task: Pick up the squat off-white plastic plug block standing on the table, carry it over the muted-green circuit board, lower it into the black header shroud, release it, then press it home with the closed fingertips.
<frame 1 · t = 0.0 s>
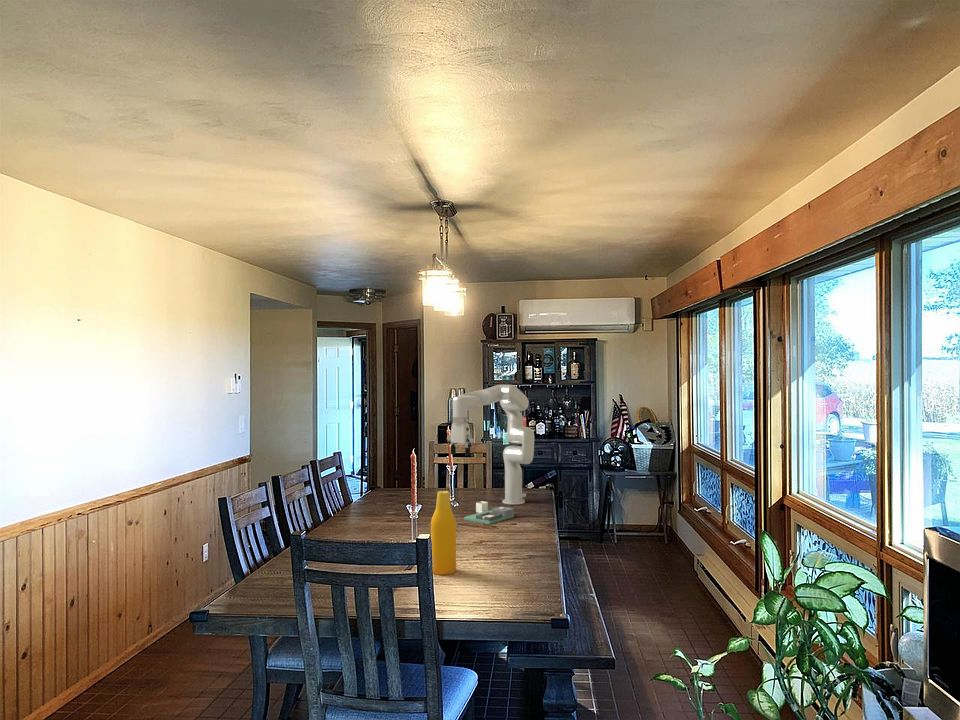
hand: (460, 454, 322), 31 cm above the table, fingers open, 9 cm apart
fan: (502, 517, 321), resting on board
header: (489, 520, 314), resting on board
plug: (482, 512, 333), on the table
board: (489, 518, 319), on the table
beer bottle: (443, 571, 234), on the table
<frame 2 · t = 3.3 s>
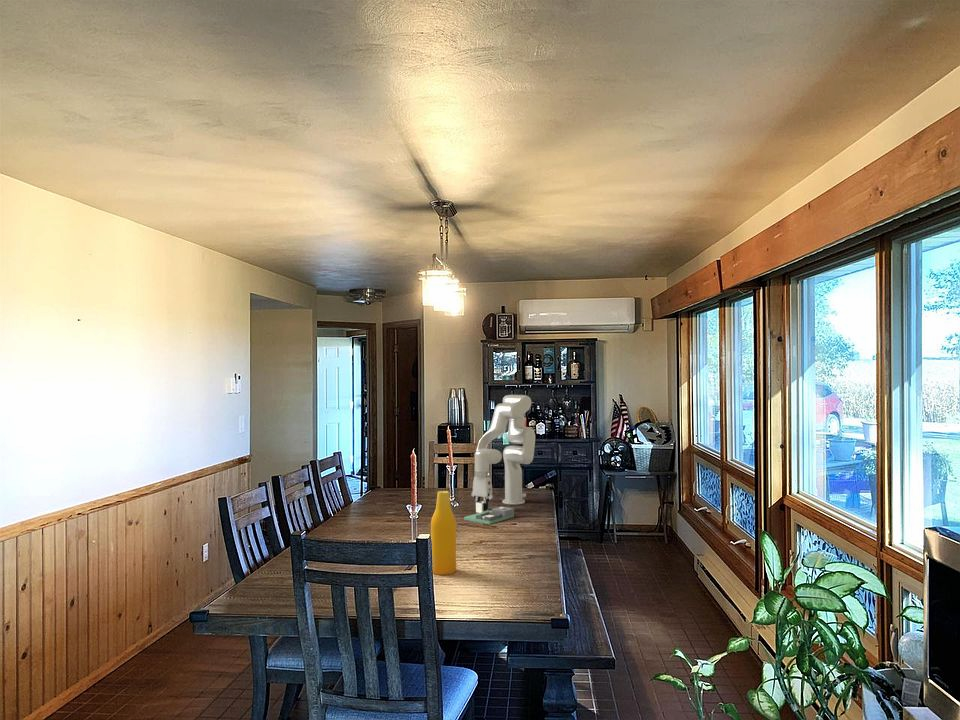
hand: (482, 509, 333), 1 cm above the table, fingers closed on plug, 3 cm apart
plug: (482, 511, 333), on the table, touching gripper
everything else where it was.
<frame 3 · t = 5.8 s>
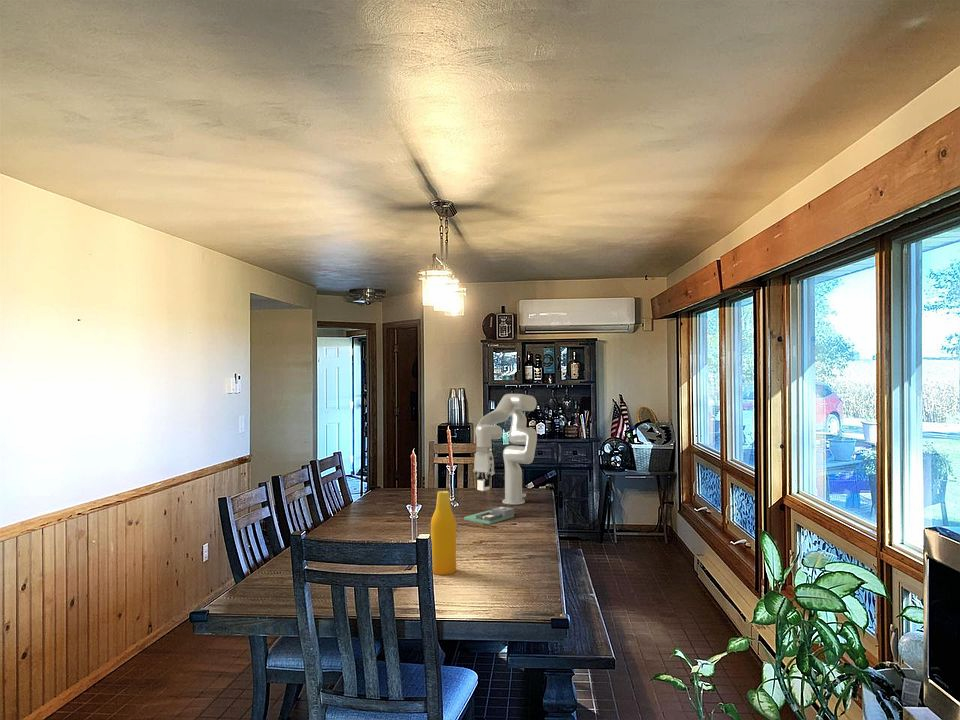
hand: (483, 485, 327), 15 cm above the table, fingers closed on plug, 4 cm apart
plug: (483, 489, 327), point 13 cm above the table, touching gripper
everything else where it was.
when the fingers open (4 cm above the table, at t = 8.5 s): plug stays where it is, resting on header.
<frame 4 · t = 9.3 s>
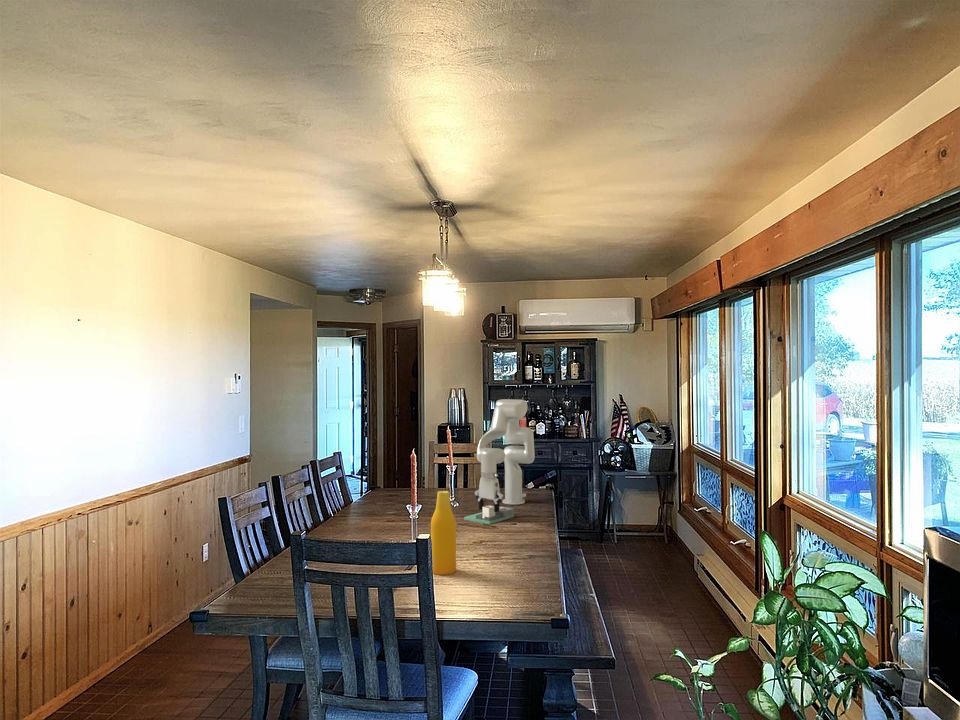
hand: (488, 510, 314), 5 cm above the table, fingers open, 9 cm apart
plug: (488, 516, 314), point 2 cm above the table, touching header
everything else where it was.
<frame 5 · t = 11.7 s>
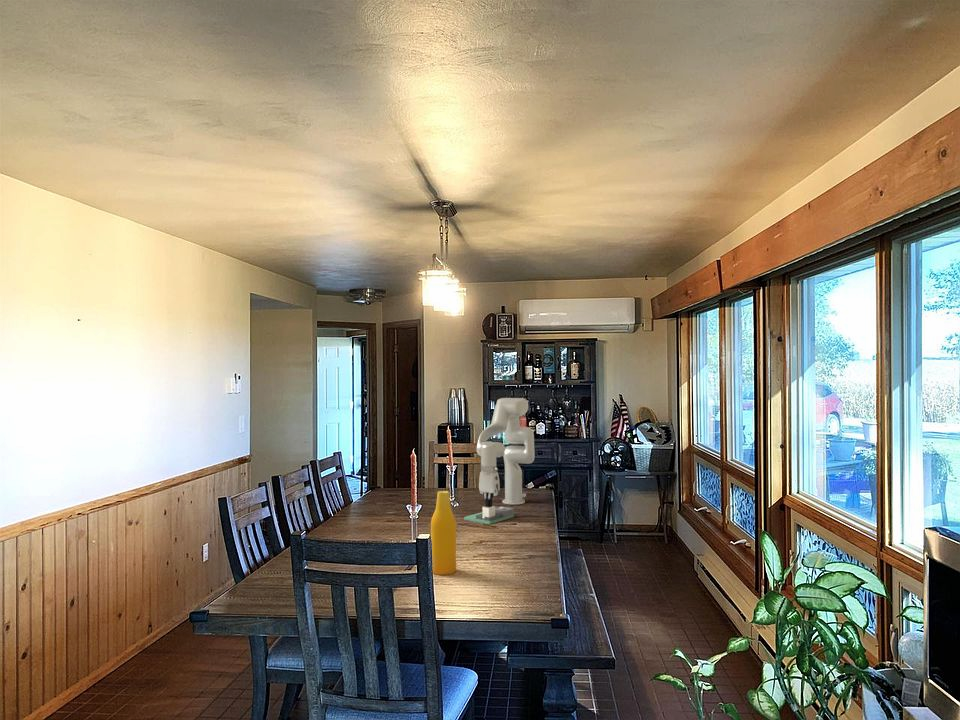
hand: (488, 506, 314), 7 cm above the table, fingers closed
plug: (488, 516, 314), point 2 cm above the table, touching gripper, header
everything else where it was.
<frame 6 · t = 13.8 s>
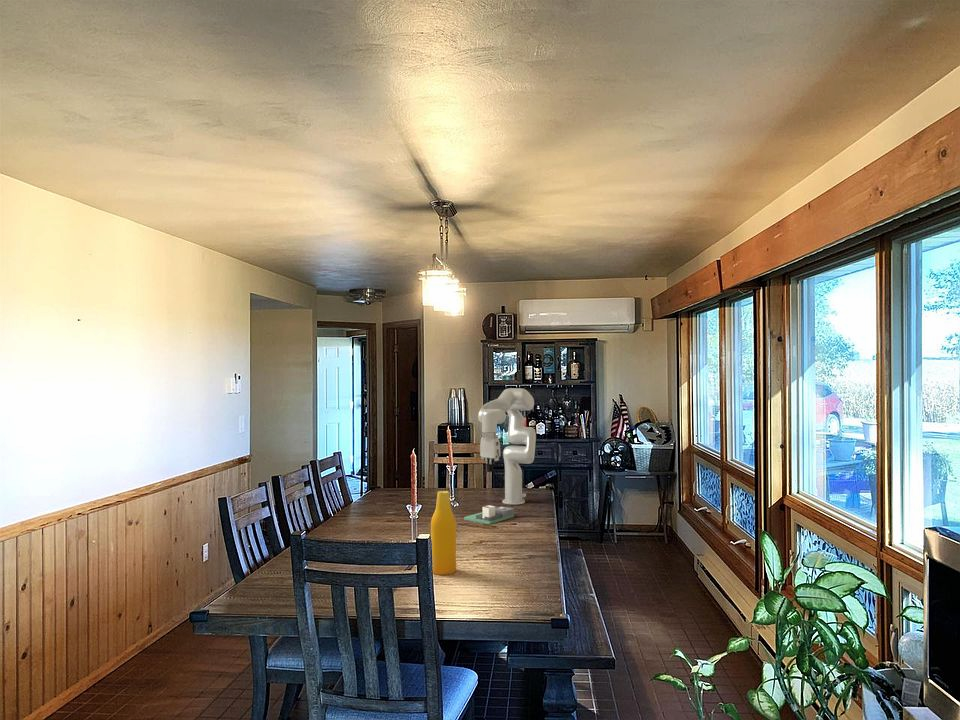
hand: (490, 471, 322), 23 cm above the table, fingers closed
plug: (488, 516, 314), point 2 cm above the table, touching header
everything else where it was.
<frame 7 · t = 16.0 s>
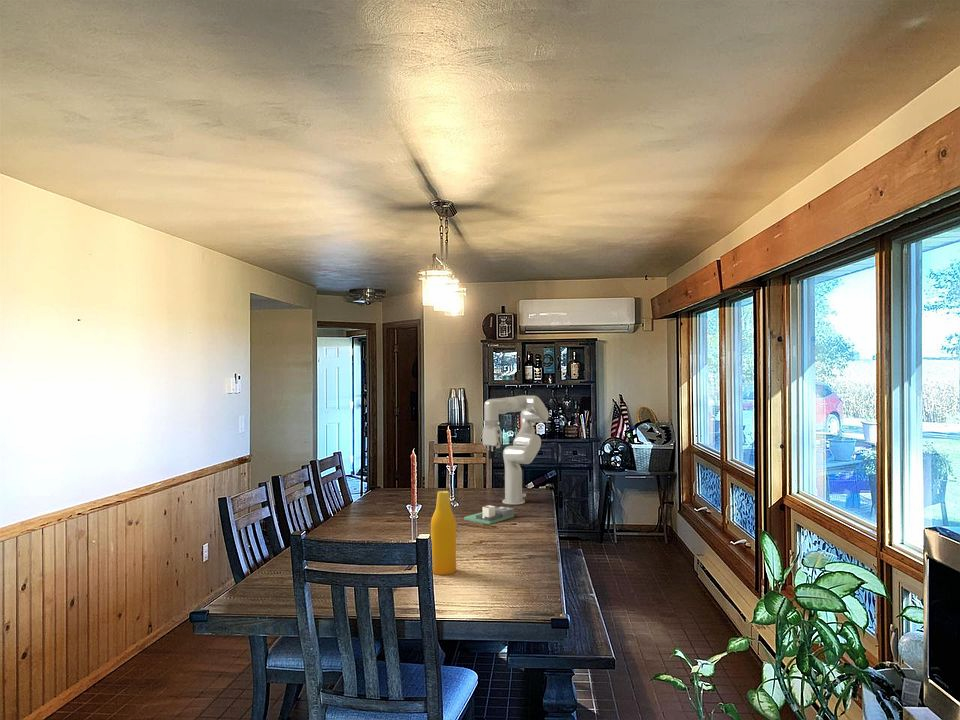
hand: (491, 458, 339), 27 cm above the table, fingers closed
nothing on the table moved.
at the end: plug 0.1 cm off-centre on the header, point 1.8 cm above the header's base; plug tilted 0°; the gripper is holding nothing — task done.
